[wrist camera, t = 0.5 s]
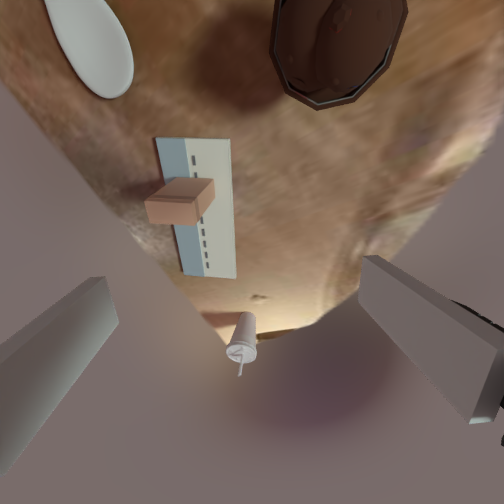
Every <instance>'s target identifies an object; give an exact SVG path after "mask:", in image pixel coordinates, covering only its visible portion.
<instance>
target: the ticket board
mask: <svg viewBox="0 0 504 504" xmlns="http://www.w3.org/2000/svg"><path fill="white" fill-rule="evenodd" d="M156 142H157V147H158V152H159V157H160V162H161V166H162V171H163V176H164V181H165V185H167V184H168V183H169V182H171V181H172V180H174V179H175V178H176V177H184V178H207V179H214V187H215V199H214V200H213V201H212V203H211V204H210V206H209V207H208V208H207V210H206V211H205V212H204V214H203V215H202V216H201V218H200V220H199V222H197V223H196V225H195V226H188V225H174V228H175V233H176V238H177V243H178V247H179V252H180V257H181V262H182V267H183V271H184V275H191V276H202V277H205V276H209V277H220V278H231V279H236V256H235V234H234V213H233V192H232V171H231V150H230V138H190V137H157V138H156Z"/></svg>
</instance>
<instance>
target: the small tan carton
mask: <svg viewBox="0 0 504 504" xmlns="http://www.w3.org/2000/svg"><path fill="white" fill-rule="evenodd" d="M214 199H215V187H214V179H207V178H184V177H176V178H175V179H174V180H172V181H171V182H169V183H168V184H167V185H165V186H164V187H163V188H161V189H160V190H158V191H157V192H156V193H154V194H153V195H150V196H149V197H148V198H147V199H146V200H145V201H144V203H145V206H146V210H147V214H148V217H149V221H150V223H158V224H173V225H188V226H195V225H196V223H197V222H199V220H200V218H201V216H202V215H203V214H204V212H205V211H206V210H207V208H208V207H209V206H210V204H211V203H212V201H213V200H214Z"/></svg>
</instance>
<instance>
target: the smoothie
mask: <svg viewBox="0 0 504 504" xmlns="http://www.w3.org/2000/svg"><path fill="white" fill-rule="evenodd" d="M255 347H256V317H255V315H254V314H253V313H250V312H243V313H242V314H241V315H240V318H239V320H238V323H237V325H236V328H235V330H234V333H233V336H232V338H231V341H230V343H229V344H228V345H227V348H226V354H227V356H228V357H229V358H230V359H232V360H233V361H236V362H240V367H239V372H238V376H241V372H242V366H243V363H249V362H252V361H254V360H255V358H256V354H257V350H256V348H255Z"/></svg>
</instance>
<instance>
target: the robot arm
mask: <svg viewBox="0 0 504 504" xmlns="http://www.w3.org/2000/svg"><path fill="white" fill-rule="evenodd" d="M358 303H359V304H360V305H361V306H362V307H363V308H364V309H365V310H366V311H367V312H368V314H369V315H370V316H371V317H372V318H373V319H374V320H375V321H376V322H377V323H378V325H379V326H380V327H381V328H382V329H383V330H384V331H385V332H386V333H387V334H388V336H389V337H390V338H391V339H392V340H393V341H394V342H395V343H396V344H397V346H398V347H399V348H400V349H401V350H402V351H403V352H404V353H405V354H406V355H407V357H408V358H409V359H410V360H411V361H412V362H413V363H414V364H415V365H416V366H417V368H418V369H419V370H420V371H421V372H422V373H423V374H424V375H425V376H426V377H427V378H428V380H429V381H430V382H431V383H432V384H433V385H434V386H435V387H436V388H437V390H439V392H440V393H441V394H442V395H443V396H444V397H445V398H446V399H447V401H448V402H449V403H450V404H451V405H452V406H453V407H454V408H455V409H456V410H457V412H458V413H459V414H460V415H461V416H462V417H463V418H464V419H465V420H466V421H467V422H468V424H473V423H482V422H491V421H494V419H495V417H496V415H497V412H498V410H499V408H500V406H501V407H502V408H503V409H504V328H502V327H500V326H499V325H497V324H493V322H492V321H491V320H489V319H487V318H485V317H484V316H481V315H480V314H479V313H477V312H476V311H474V310H472V309H471V308H469V307H467V306H465V305H462V304H460V303H458V302H455V301H453V300H450V299H448V298H446V297H445V296H443V295H441V294H440V293H438V292H436V291H435V290H433V289H432V288H430V287H428V286H427V285H425V284H424V283H422V282H420V281H419V280H417V279H415V278H414V277H412V276H411V275H409V274H407V273H406V272H404V271H402V270H401V269H399V268H398V267H396V266H394V265H393V264H391V263H390V262H388V261H386V260H385V259H383V258H381V257H380V256H378V255H370V256H363V261H362V269H361V278H360V287H359V296H358ZM118 324H119V320H118V317H117V313H116V310H115V307H114V303H113V300H112V297H111V294H110V290H109V287H108V284H107V280H106V277H105V276H104V277H90V278H88V279H87V280H86V281H84V282H83V283H82V284H80V285H79V286H78V287H76V288H75V289H74V290H73V291H71V292H70V293H68V294H67V295H66V296H64V297H63V298H62V299H61V300H59V301H58V302H56V303H55V304H54V305H52V306H51V307H50V308H49V309H47V310H46V311H44V312H43V313H42V314H41V315H39V316H38V317H37V318H35V319H34V320H33V321H31V322H30V323H29V324H27V325H26V326H25V327H23V328H22V329H21V330H19V331H18V332H17V333H15V334H14V335H13V336H11V337H10V338H9V339H7V340H6V341H5V342H3V343H2V344H1V345H0V477H2V476H5V474H6V473H7V472H8V470H9V469H10V468H11V466H12V465H13V464H14V462H15V461H16V460H17V458H18V457H19V456H20V454H21V453H22V452H23V450H24V449H25V448H26V446H27V445H28V444H29V442H30V441H31V440H32V438H33V437H34V436H35V434H36V433H37V432H38V430H39V429H40V428H41V426H42V425H43V424H44V422H45V421H46V420H47V418H48V417H49V415H50V414H51V413H52V412H53V410H54V409H55V408H56V406H57V405H58V404H59V402H60V401H61V400H62V398H63V397H64V396H65V394H66V393H67V392H68V390H69V389H70V388H71V386H72V385H73V384H74V382H75V381H76V380H77V378H78V377H79V376H80V374H81V373H82V371H83V370H84V369H85V368H86V366H87V365H88V364H89V362H90V361H91V360H92V358H93V357H94V356H95V354H96V353H97V352H98V350H99V349H100V348H101V346H102V345H103V343H104V342H105V341H106V340H107V338H108V337H109V336H110V334H111V333H112V332H113V330H114V329H115V328H116V326H117V325H118ZM501 445H502V446H504V435H503V437H502V440H501Z"/></svg>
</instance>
